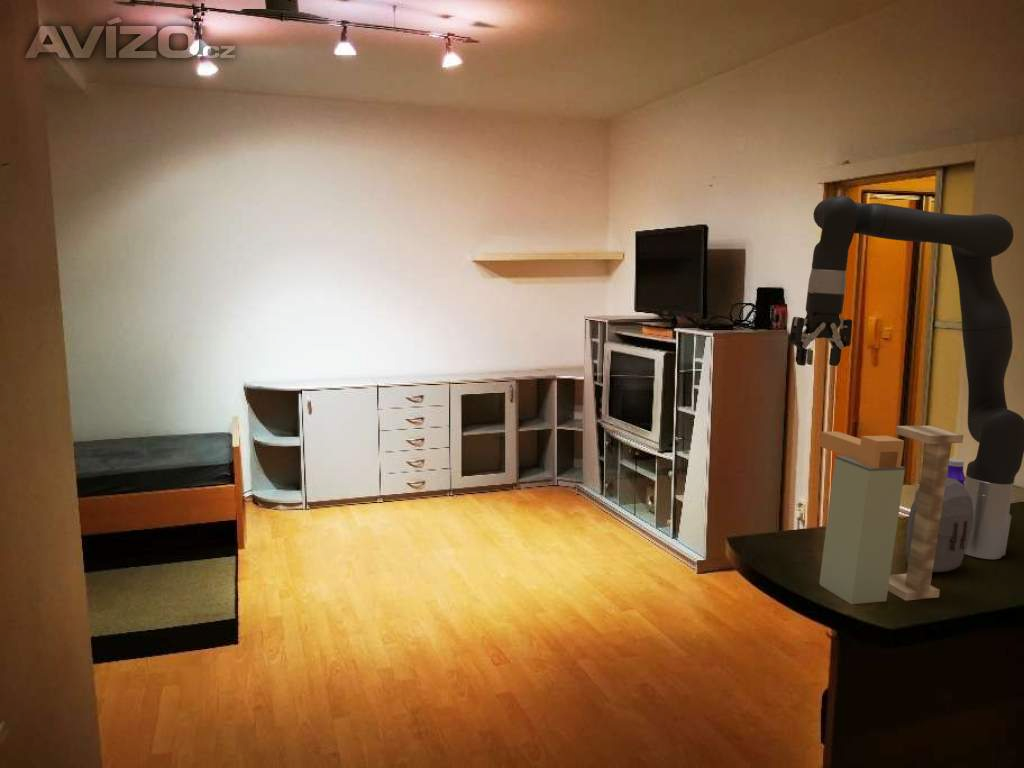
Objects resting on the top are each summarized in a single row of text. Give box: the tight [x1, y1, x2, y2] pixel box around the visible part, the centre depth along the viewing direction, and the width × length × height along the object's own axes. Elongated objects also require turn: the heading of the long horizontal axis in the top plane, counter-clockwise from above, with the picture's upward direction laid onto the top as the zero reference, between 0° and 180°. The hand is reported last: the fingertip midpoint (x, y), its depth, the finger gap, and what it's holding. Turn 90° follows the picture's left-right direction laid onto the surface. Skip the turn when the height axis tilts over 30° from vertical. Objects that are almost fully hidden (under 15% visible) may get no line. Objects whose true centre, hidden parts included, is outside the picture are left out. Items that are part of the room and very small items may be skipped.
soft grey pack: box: [905, 477, 973, 573], centre depth 164 cm, size 15×8×20 cm, turn 117°
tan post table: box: [888, 425, 965, 602], centre depth 152 cm, size 8×8×32 cm
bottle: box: [947, 457, 966, 485], centre depth 193 cm, size 7×6×17 cm
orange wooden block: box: [819, 431, 905, 468], centre depth 150 cm, size 6×16×5 cm, turn 17°
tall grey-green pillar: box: [818, 455, 906, 605], centre depth 150 cm, size 8×9×26 cm
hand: (817, 365), depth 173 cm, fingers open, 8 cm apart
